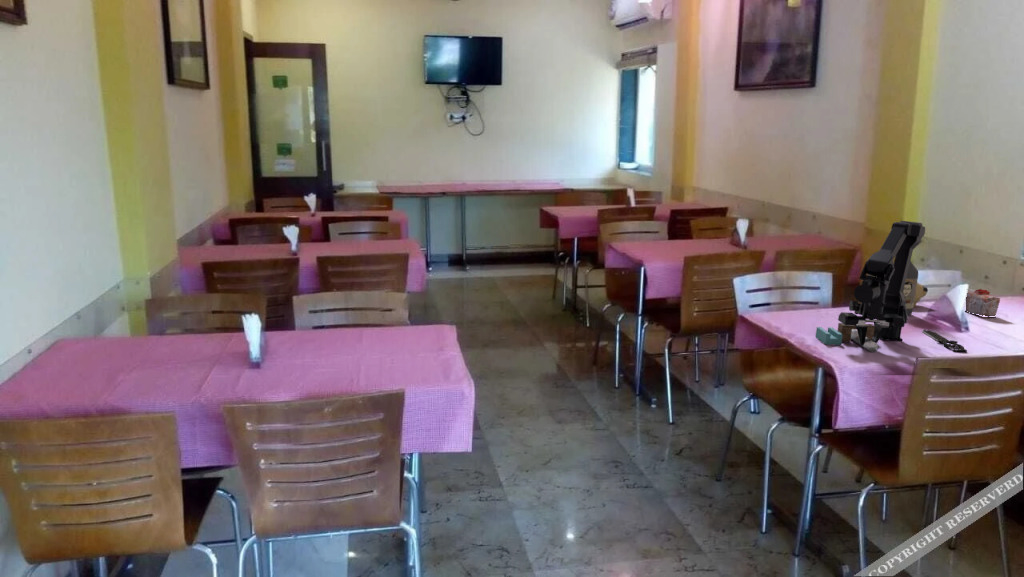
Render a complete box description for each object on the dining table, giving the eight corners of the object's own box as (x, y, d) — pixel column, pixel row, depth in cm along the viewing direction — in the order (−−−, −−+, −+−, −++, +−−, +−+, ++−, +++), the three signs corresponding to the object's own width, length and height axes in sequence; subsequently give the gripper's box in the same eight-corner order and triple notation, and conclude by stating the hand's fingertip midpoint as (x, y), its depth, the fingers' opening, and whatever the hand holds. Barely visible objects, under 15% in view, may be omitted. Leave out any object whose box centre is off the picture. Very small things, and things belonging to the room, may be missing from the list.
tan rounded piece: (929, 307, 301) (934, 281, 299) (903, 308, 298) (907, 282, 296) (911, 301, 310) (915, 276, 308) (886, 302, 308) (890, 276, 305)
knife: (918, 331, 269) (919, 327, 268) (938, 332, 268) (939, 328, 268) (947, 352, 244) (948, 348, 244) (969, 354, 244) (969, 350, 243)
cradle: (831, 337, 255) (832, 327, 255) (841, 344, 248) (842, 334, 247) (815, 337, 255) (816, 326, 255) (825, 344, 248) (826, 333, 247)
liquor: (878, 309, 295) (889, 232, 289) (901, 309, 296) (913, 233, 289) (891, 315, 287) (903, 236, 280) (914, 316, 287) (927, 237, 280)
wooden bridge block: (869, 339, 255) (871, 323, 253) (873, 342, 252) (875, 326, 250) (836, 338, 254) (838, 322, 253) (840, 341, 252) (842, 325, 250)
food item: (1000, 318, 288) (1005, 293, 286) (982, 319, 287) (986, 293, 284) (972, 309, 301) (977, 285, 299) (955, 309, 300) (959, 285, 298)
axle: (855, 338, 256) (857, 328, 255) (877, 352, 241) (879, 343, 240) (845, 337, 256) (847, 328, 255) (867, 351, 241) (869, 342, 240)
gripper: (891, 293, 248) (884, 339, 252) (834, 291, 248) (828, 337, 252) (909, 301, 238) (901, 349, 241) (849, 299, 237) (842, 347, 241)
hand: (867, 345), depth 244 cm, fingers closed on axle, 3 cm apart
